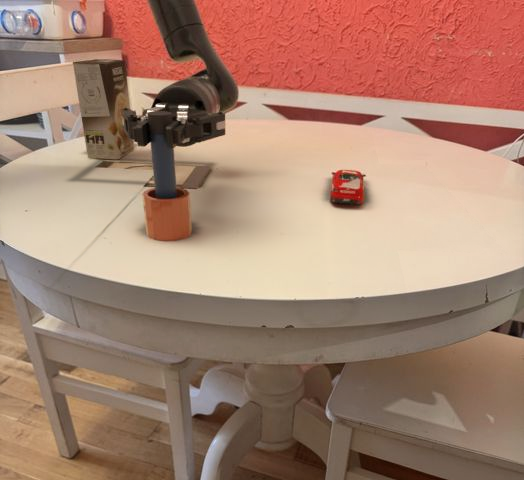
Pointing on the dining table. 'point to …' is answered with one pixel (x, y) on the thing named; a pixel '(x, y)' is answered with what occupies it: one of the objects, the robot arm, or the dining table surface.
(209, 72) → the robot arm
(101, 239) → the dining table surface
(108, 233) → the dining table surface
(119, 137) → the coffee box
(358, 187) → the race car
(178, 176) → the sketch board
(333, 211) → the dining table surface
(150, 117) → the marker
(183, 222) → the pen pot
